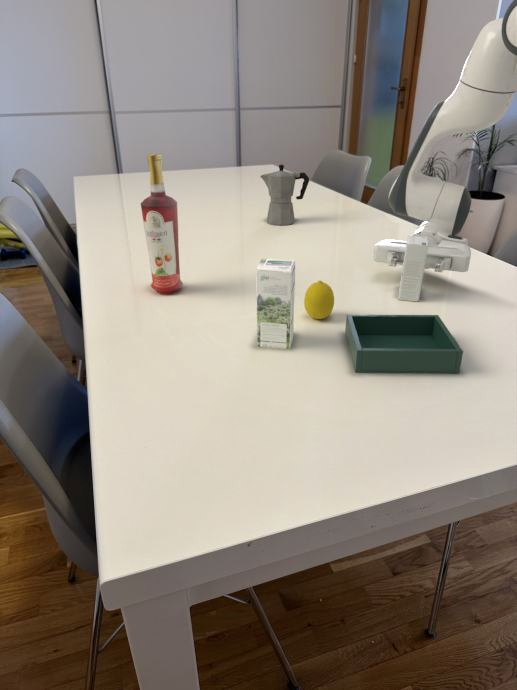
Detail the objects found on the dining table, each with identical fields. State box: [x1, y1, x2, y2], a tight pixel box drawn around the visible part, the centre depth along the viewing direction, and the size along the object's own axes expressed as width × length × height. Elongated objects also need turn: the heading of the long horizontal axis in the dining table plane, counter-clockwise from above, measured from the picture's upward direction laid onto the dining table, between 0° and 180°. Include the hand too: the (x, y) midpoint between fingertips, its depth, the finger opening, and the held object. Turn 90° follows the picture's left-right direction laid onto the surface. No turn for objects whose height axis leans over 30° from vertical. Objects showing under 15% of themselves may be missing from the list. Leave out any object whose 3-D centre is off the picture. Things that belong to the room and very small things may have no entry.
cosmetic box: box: [397, 235, 429, 302], centre depth 105 cm, size 6×4×12 cm
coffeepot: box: [260, 164, 310, 226], centre depth 164 cm, size 15×9×18 cm, turn 87°
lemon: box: [303, 280, 335, 320], centre depth 95 cm, size 6×6×8 cm
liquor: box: [140, 153, 184, 295], centre depth 106 cm, size 7×7×28 cm
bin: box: [344, 313, 464, 375], centre depth 83 cm, size 16×14×4 cm
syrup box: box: [255, 258, 296, 350], centre depth 85 cm, size 6×6×14 cm
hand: (414, 265), depth 106 cm, fingers open, 8 cm apart
